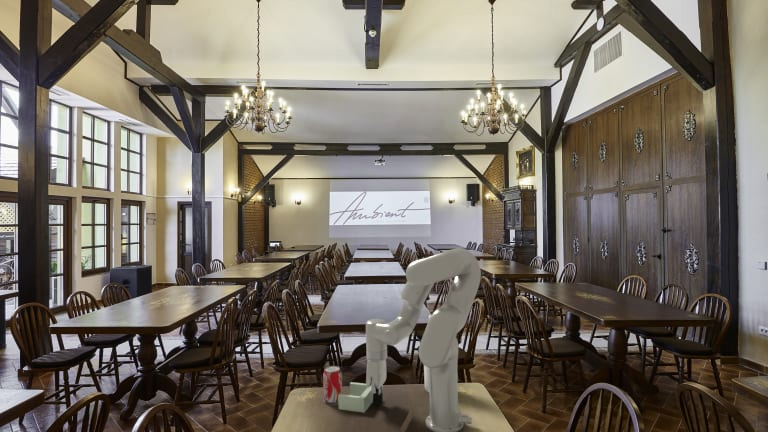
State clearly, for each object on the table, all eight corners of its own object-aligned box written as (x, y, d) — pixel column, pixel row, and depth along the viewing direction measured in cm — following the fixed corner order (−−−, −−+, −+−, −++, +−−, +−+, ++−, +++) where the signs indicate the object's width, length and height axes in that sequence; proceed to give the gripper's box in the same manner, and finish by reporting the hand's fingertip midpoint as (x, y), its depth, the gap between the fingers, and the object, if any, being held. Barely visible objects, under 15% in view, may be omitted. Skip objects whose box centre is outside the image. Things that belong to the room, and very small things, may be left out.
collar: (375, 397, 157) (375, 384, 157) (364, 412, 145) (364, 398, 145) (351, 395, 160) (351, 382, 160) (338, 409, 148) (338, 395, 148)
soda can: (339, 405, 151) (338, 372, 151) (321, 404, 153) (320, 371, 153) (344, 396, 158) (343, 365, 158) (327, 395, 160) (326, 364, 160)
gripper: (373, 346, 158) (375, 394, 158) (359, 360, 144) (360, 412, 144) (392, 348, 156) (393, 396, 156) (379, 362, 142) (381, 415, 142)
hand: (377, 403), depth 150 cm, fingers closed
